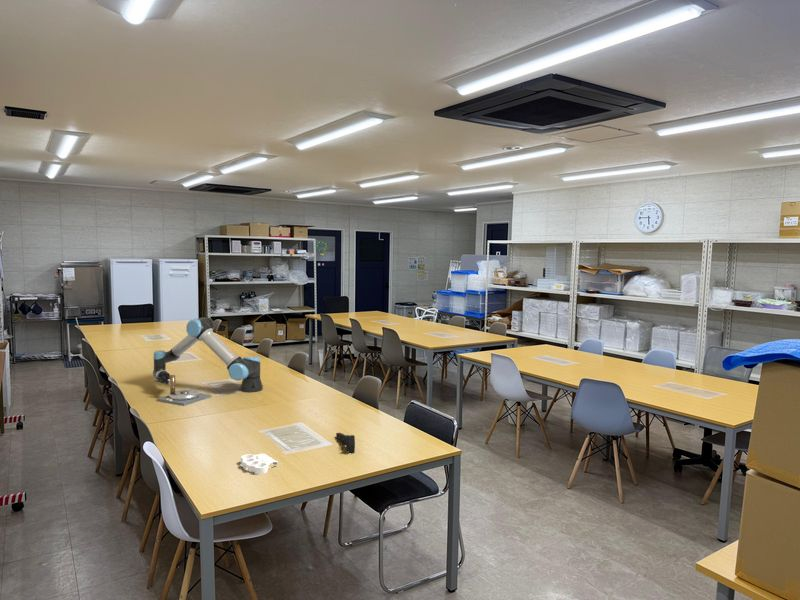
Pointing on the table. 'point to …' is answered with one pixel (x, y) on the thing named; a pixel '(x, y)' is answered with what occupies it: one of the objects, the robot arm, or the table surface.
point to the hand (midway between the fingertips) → (171, 383)
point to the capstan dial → (181, 392)
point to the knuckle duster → (257, 463)
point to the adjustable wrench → (347, 441)
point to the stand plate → (184, 402)
